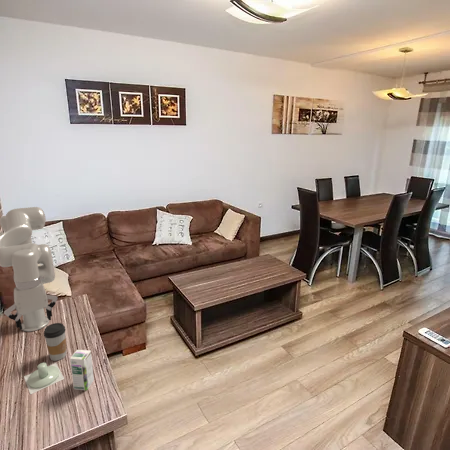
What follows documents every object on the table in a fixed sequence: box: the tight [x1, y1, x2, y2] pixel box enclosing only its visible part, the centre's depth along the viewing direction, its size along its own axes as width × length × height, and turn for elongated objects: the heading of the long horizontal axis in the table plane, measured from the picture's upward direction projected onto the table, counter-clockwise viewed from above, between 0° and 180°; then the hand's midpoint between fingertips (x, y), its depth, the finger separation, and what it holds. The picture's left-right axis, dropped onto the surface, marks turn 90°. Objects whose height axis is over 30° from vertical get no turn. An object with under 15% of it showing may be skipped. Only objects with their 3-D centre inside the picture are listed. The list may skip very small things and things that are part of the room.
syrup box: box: [69, 349, 95, 391], centre depth 119 cm, size 6×6×14 cm
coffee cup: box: [43, 322, 67, 362], centre depth 134 cm, size 8×8×15 cm
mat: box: [23, 362, 65, 396], centre depth 123 cm, size 12×12×1 cm
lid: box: [28, 362, 60, 388], centre depth 123 cm, size 11×11×6 cm
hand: (35, 323), depth 116 cm, fingers open, 9 cm apart
